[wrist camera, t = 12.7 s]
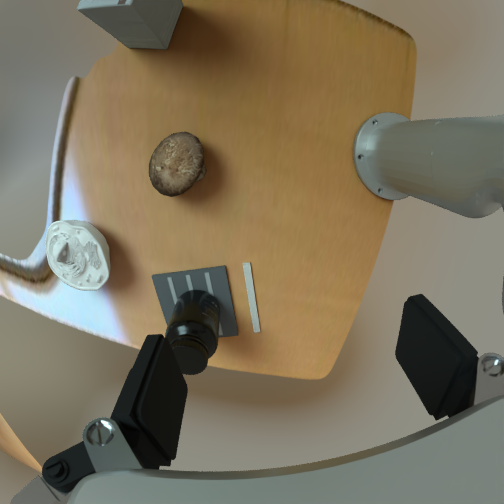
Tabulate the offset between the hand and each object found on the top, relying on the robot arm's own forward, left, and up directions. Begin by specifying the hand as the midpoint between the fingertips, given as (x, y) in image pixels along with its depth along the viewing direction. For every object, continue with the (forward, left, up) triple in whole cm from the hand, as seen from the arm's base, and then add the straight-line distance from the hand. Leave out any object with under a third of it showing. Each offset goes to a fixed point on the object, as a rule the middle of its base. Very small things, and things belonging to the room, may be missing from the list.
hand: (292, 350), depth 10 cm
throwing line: (+3, +14, -28) cm, 31 cm away
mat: (+11, +14, -28) cm, 33 cm away
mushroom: (+9, -7, -29) cm, 31 cm away
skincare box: (+10, -28, -28) cm, 41 cm away
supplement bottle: (+11, +14, -28) cm, 33 cm away
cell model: (+26, +2, -29) cm, 39 cm away
